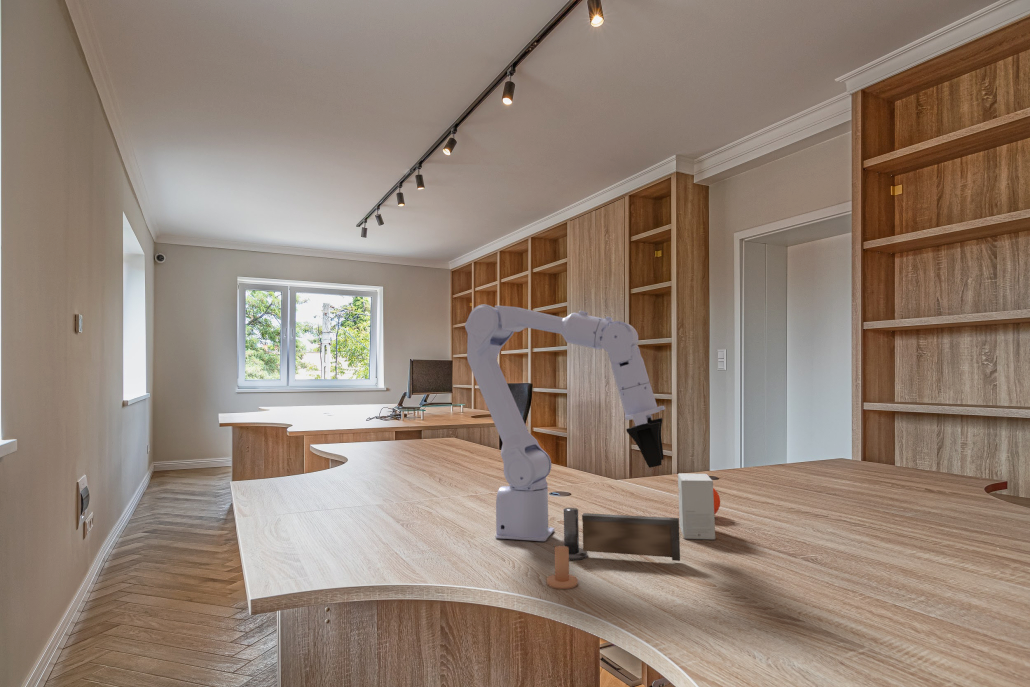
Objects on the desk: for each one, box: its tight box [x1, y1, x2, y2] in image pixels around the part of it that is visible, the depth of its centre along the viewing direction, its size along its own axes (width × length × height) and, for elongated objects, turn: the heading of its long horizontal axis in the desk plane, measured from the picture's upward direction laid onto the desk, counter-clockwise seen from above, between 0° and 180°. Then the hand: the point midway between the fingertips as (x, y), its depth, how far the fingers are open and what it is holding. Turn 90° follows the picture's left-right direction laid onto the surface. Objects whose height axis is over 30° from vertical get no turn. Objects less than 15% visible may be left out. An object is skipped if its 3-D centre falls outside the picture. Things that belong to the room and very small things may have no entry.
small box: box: [677, 472, 716, 540], centre depth 106 cm, size 8×6×10 cm
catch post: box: [546, 545, 579, 590], centre depth 82 cm, size 4×4×5 cm
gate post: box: [563, 507, 588, 561], centre depth 95 cm, size 5×5×8 cm
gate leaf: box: [581, 512, 681, 562], centre depth 92 cm, size 15×2×6 cm, turn 73°
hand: (656, 463), depth 99 cm, fingers open, 7 cm apart
